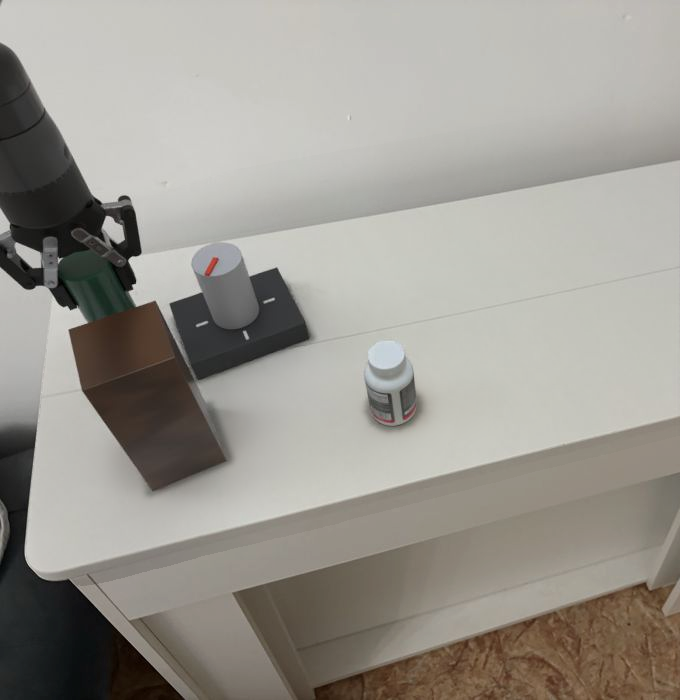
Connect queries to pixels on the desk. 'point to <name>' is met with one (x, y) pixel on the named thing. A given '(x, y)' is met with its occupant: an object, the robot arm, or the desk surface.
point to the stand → (146, 394)
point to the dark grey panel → (244, 343)
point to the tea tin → (94, 285)
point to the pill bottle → (390, 383)
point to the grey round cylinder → (225, 285)
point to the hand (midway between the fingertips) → (100, 294)
